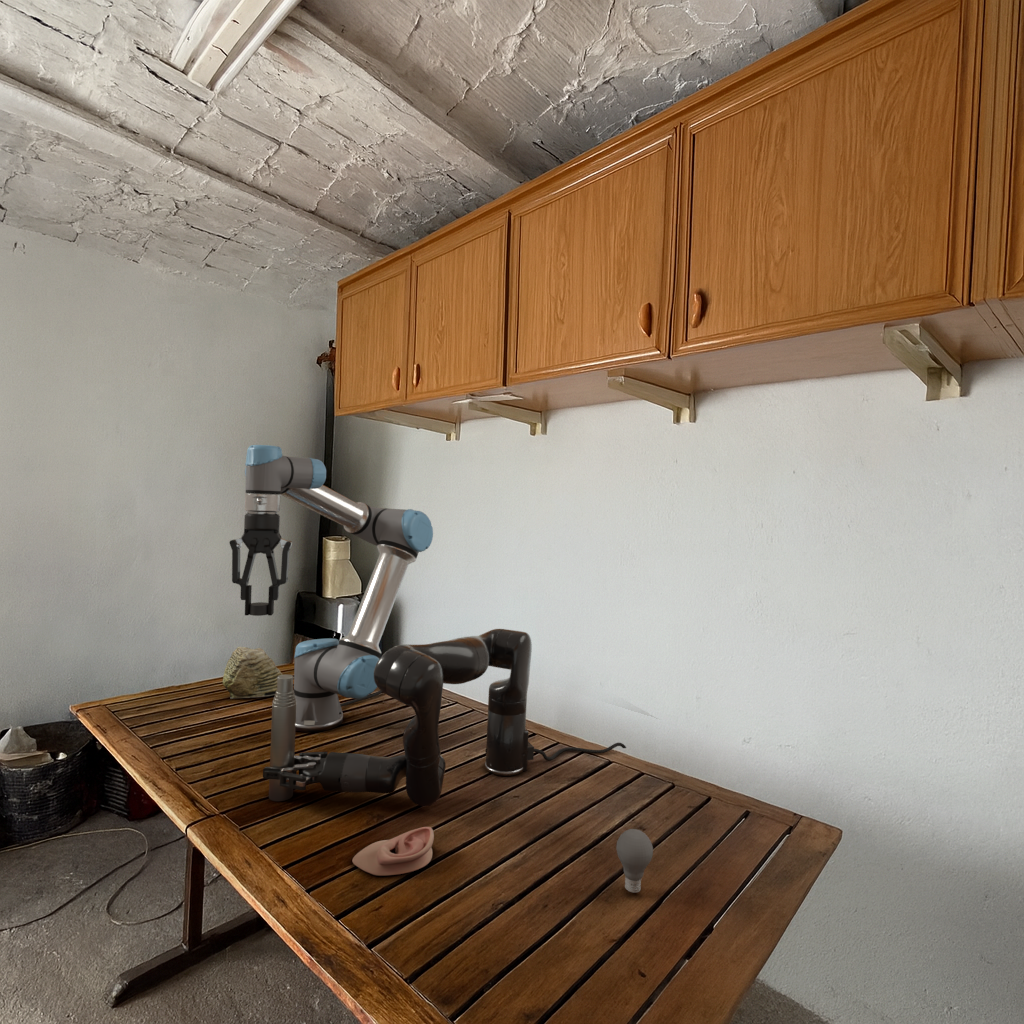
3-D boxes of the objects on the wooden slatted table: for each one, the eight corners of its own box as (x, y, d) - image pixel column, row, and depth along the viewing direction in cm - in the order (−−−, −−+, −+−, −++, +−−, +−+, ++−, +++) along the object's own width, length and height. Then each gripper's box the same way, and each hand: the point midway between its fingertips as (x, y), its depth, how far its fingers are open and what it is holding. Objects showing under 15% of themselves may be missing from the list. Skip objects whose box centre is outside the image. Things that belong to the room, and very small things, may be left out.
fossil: (218, 695, 195) (220, 647, 195) (278, 685, 208) (279, 640, 207) (228, 703, 189) (230, 653, 188) (289, 692, 201) (290, 645, 201)
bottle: (263, 798, 132) (268, 677, 132) (280, 789, 136) (284, 672, 136) (281, 803, 130) (286, 680, 130) (297, 793, 135) (302, 675, 134)
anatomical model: (344, 847, 108) (373, 814, 119) (343, 870, 108) (372, 835, 119) (418, 859, 105) (440, 825, 116) (417, 883, 105) (439, 846, 116)
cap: (245, 615, 144) (245, 605, 143) (254, 611, 148) (255, 601, 148) (264, 616, 143) (264, 606, 143) (272, 612, 148) (273, 602, 147)
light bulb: (610, 879, 108) (613, 822, 108) (644, 879, 109) (647, 822, 109) (619, 902, 102) (622, 840, 102) (655, 901, 103) (658, 840, 103)
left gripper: (217, 512, 140) (214, 617, 140) (299, 514, 143) (296, 617, 144) (226, 511, 147) (223, 611, 148) (304, 513, 150) (300, 611, 151)
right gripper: (359, 741, 139) (284, 736, 140) (338, 769, 125) (254, 763, 126) (358, 775, 140) (282, 770, 141) (336, 806, 125) (252, 800, 126)
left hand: (259, 614), depth 146 cm, fingers closed on cap, 4 cm apart
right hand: (269, 767), depth 133 cm, fingers closed on bottle, 5 cm apart
